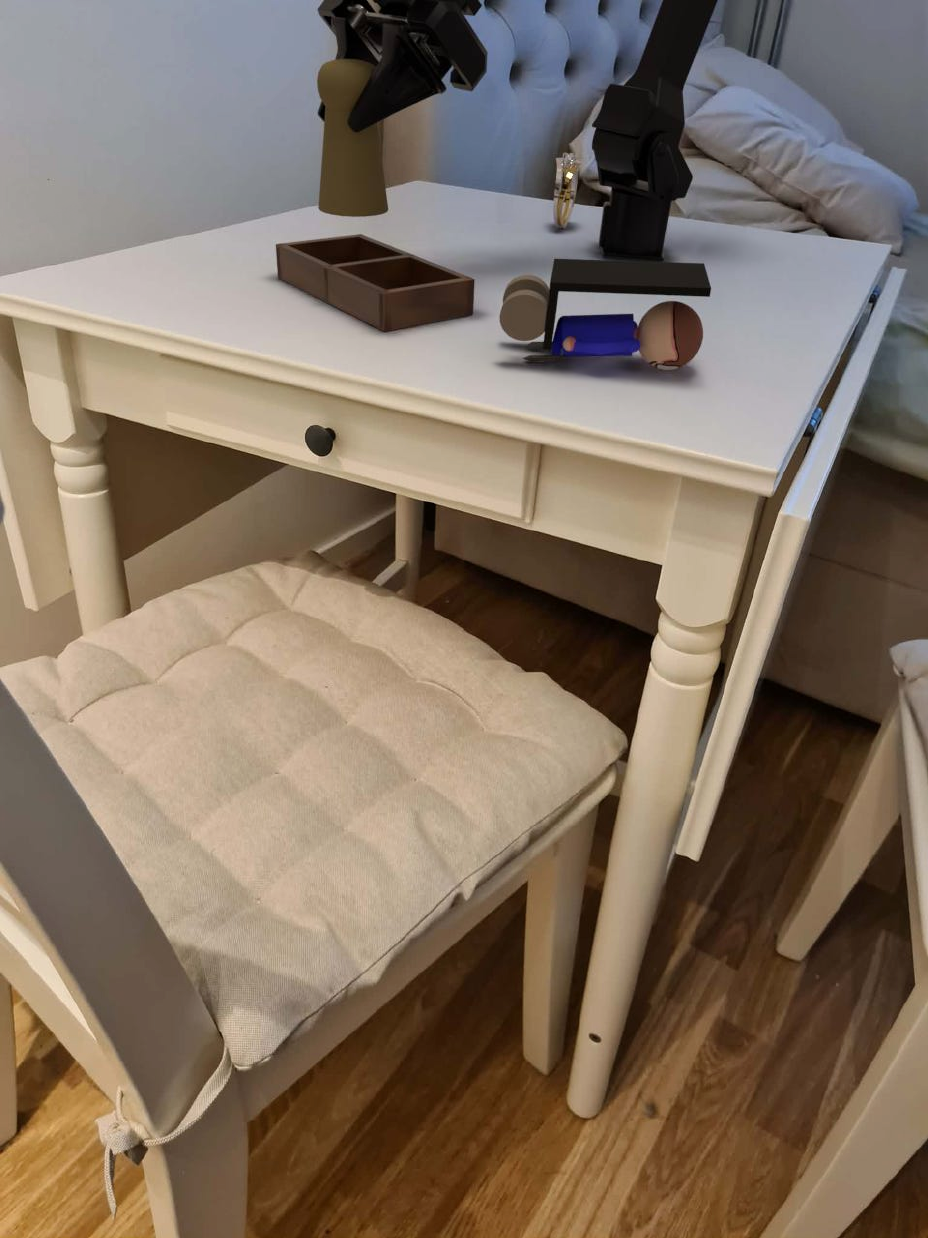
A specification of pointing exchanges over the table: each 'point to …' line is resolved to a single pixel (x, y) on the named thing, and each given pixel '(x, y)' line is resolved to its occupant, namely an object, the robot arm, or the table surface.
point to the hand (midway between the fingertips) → (335, 123)
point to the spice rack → (375, 281)
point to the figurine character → (659, 337)
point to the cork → (349, 145)
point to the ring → (565, 188)
